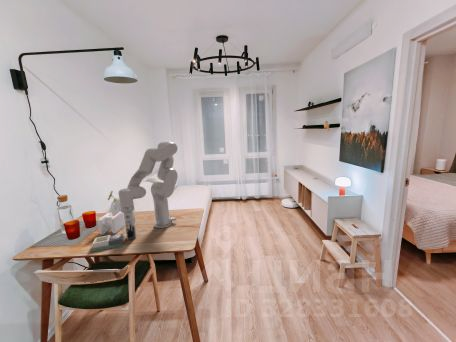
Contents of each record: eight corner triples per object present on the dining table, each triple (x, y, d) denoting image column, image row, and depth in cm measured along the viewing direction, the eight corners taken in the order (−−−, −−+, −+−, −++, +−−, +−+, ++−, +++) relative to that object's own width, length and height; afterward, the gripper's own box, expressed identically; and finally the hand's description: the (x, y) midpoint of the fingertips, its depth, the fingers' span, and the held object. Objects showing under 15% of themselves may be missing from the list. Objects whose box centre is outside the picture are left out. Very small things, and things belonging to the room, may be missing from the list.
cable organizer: (114, 235, 143) (111, 219, 141) (98, 236, 143) (95, 220, 141) (125, 225, 158) (123, 210, 155) (111, 226, 158) (108, 211, 156)
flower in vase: (114, 217, 173) (109, 187, 168) (128, 216, 174) (124, 186, 169) (106, 224, 161) (101, 192, 156) (122, 223, 162) (117, 191, 157)
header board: (124, 237, 140) (123, 231, 139) (121, 246, 129) (120, 240, 128) (96, 242, 135) (95, 236, 135) (91, 252, 124) (90, 245, 123)
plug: (136, 235, 142) (134, 224, 140) (135, 238, 138) (133, 227, 136) (127, 237, 140) (126, 225, 139) (127, 240, 136) (125, 228, 135)
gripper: (132, 212, 128) (136, 239, 132) (135, 202, 144) (138, 227, 148) (119, 214, 126) (123, 241, 129) (123, 204, 142) (126, 229, 145)
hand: (131, 233), depth 138 cm, fingers open, 7 cm apart
